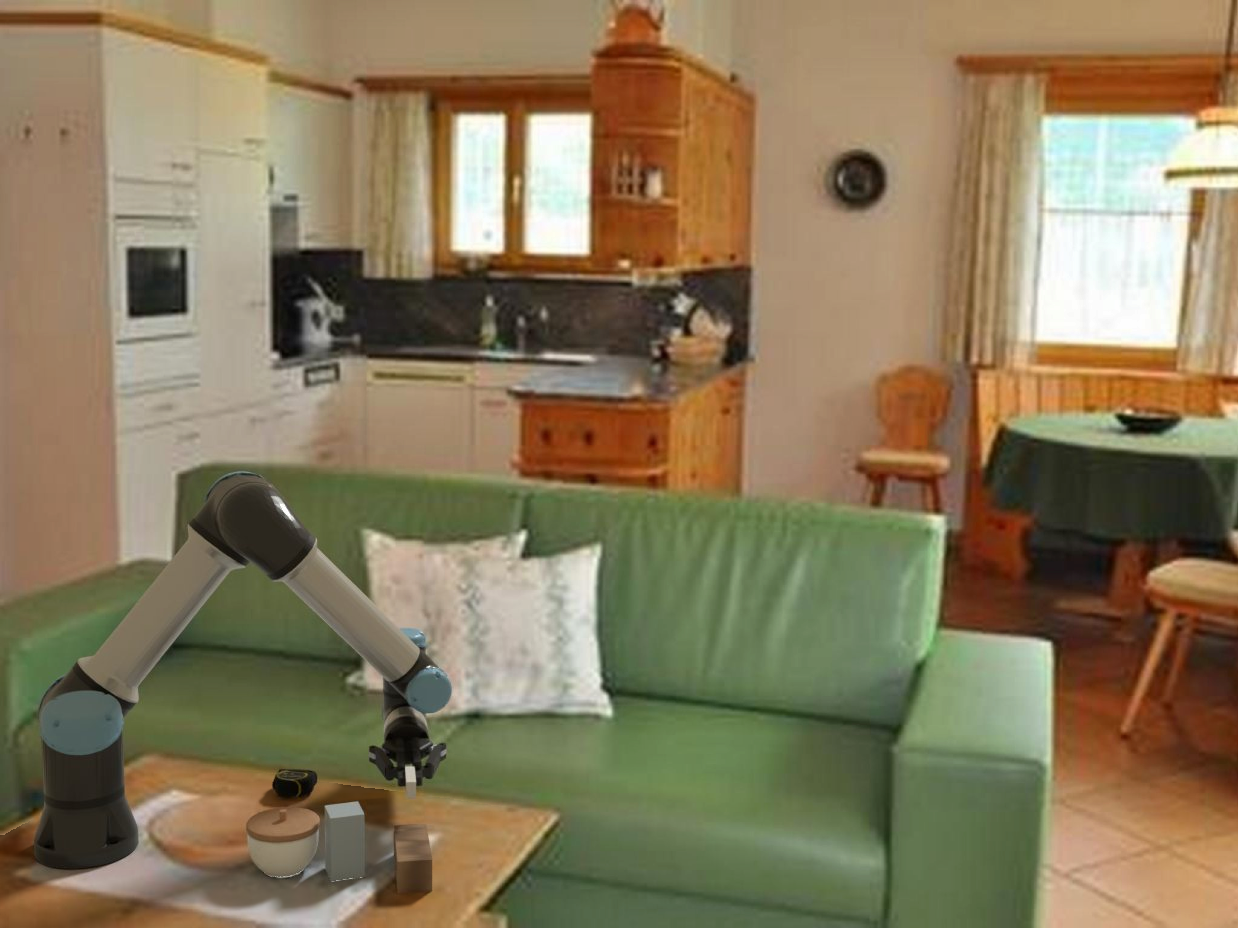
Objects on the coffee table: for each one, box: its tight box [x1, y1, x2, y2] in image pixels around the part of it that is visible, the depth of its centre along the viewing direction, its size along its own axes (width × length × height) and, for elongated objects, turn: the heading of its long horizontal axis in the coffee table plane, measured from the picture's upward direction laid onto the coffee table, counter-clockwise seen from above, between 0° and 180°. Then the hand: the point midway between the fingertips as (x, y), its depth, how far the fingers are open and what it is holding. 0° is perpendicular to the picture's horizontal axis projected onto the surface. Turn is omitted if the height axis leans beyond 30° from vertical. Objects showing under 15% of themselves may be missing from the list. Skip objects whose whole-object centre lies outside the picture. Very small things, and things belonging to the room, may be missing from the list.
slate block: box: [324, 800, 366, 882], centre depth 211 cm, size 5×5×10 cm
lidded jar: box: [245, 806, 321, 877], centre depth 212 cm, size 11×11×9 cm
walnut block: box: [393, 823, 433, 894], centre depth 212 cm, size 5×5×13 cm
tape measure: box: [271, 768, 318, 799], centre depth 240 cm, size 7×7×4 cm
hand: (411, 790), depth 217 cm, fingers closed
